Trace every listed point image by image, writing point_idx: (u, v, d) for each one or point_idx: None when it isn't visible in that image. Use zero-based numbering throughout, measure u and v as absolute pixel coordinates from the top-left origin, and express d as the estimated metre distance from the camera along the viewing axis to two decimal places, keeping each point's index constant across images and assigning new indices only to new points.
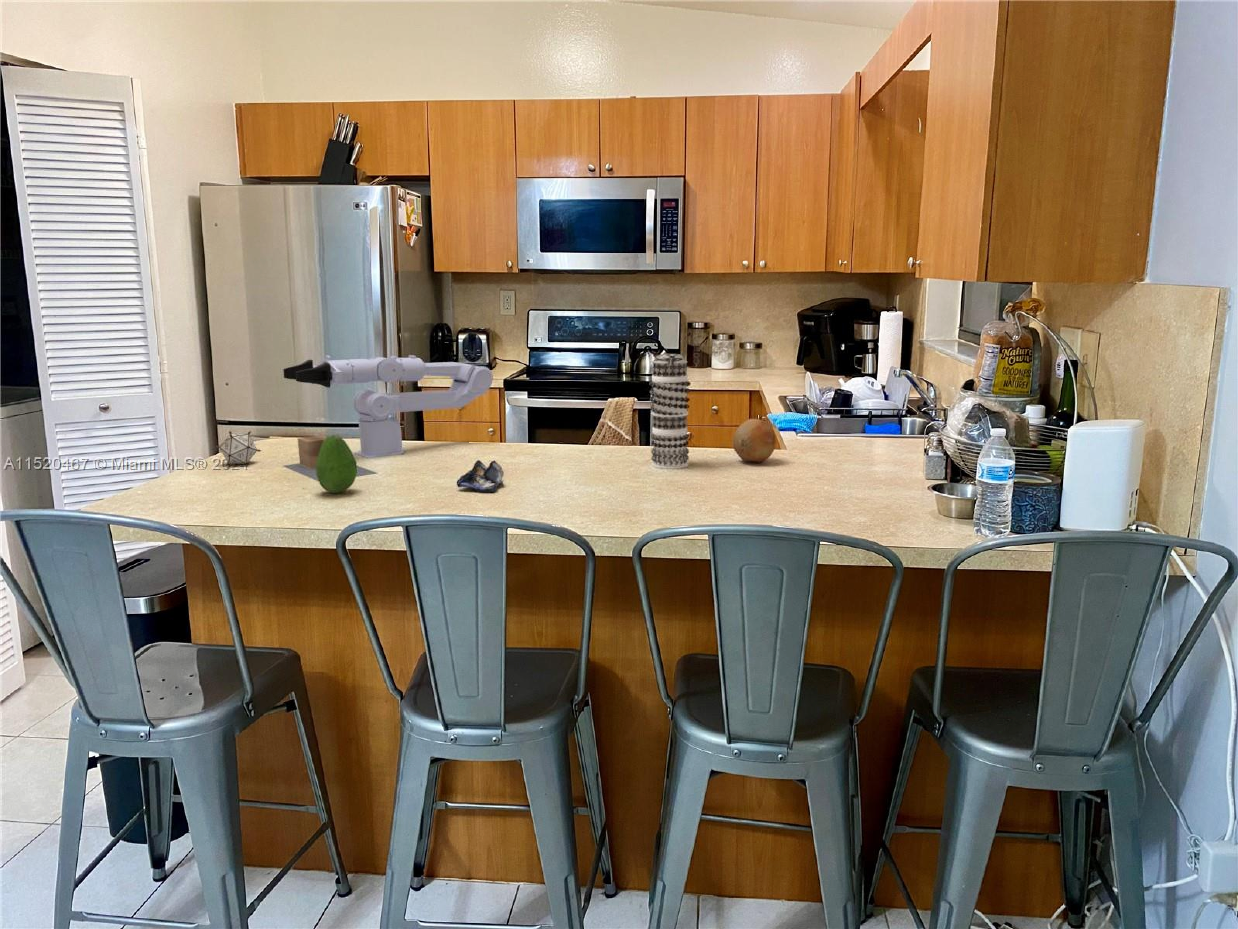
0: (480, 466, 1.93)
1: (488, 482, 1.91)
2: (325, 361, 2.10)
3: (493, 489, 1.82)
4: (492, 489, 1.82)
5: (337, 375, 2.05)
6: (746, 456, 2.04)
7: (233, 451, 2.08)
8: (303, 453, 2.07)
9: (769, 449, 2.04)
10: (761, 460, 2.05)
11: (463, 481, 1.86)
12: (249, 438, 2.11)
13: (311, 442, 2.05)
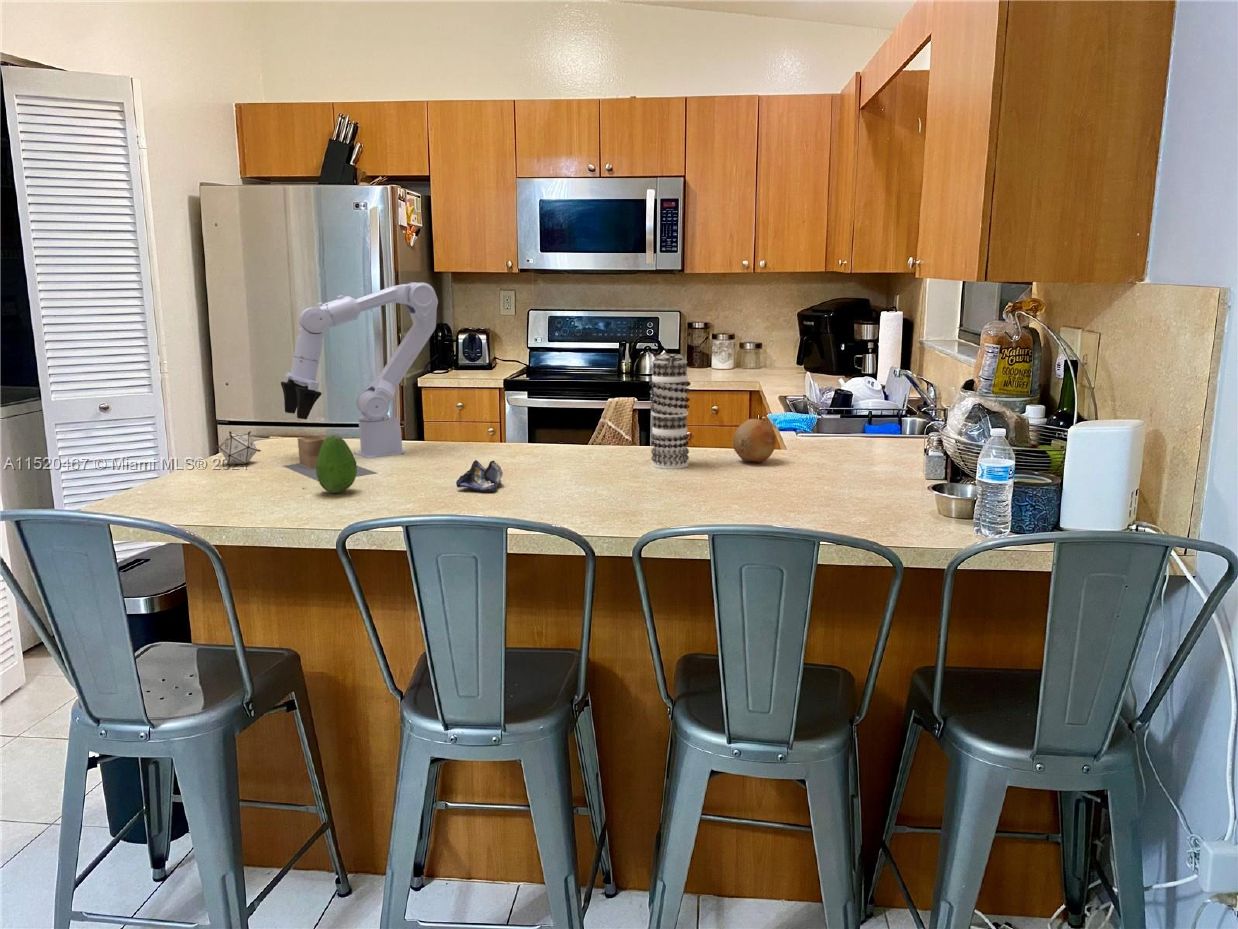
0: (478, 466, 1.92)
1: (486, 482, 1.91)
2: (291, 378, 2.10)
3: (494, 489, 1.82)
4: (493, 489, 1.82)
5: (314, 386, 2.06)
6: (746, 456, 2.04)
7: (233, 451, 2.08)
8: (303, 453, 2.07)
9: (769, 449, 2.04)
10: (761, 460, 2.05)
11: (462, 481, 1.86)
12: (249, 438, 2.11)
13: (311, 442, 2.05)
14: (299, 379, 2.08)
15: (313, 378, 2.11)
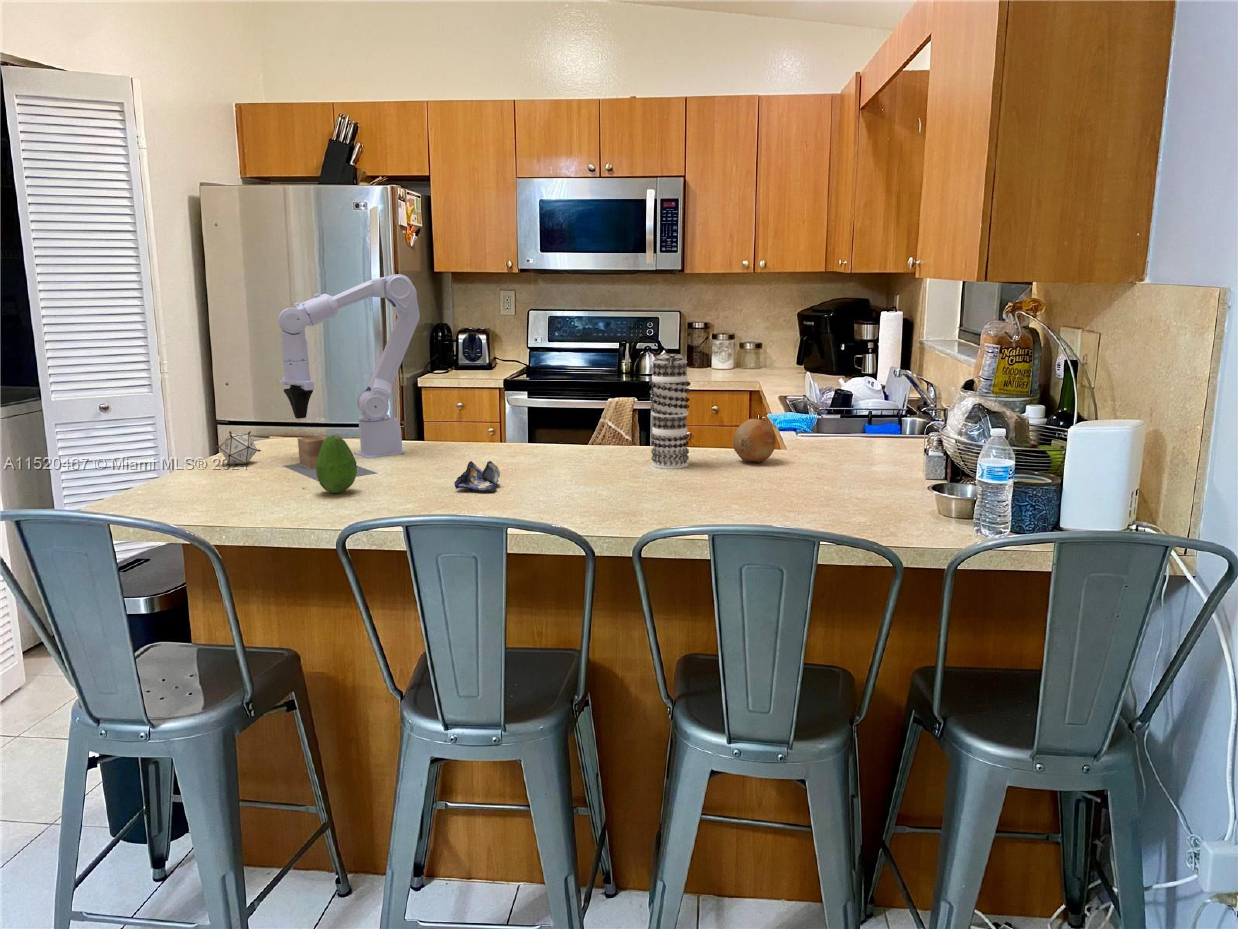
0: (473, 467, 1.92)
1: (482, 483, 1.91)
2: None
3: (493, 489, 1.82)
4: (492, 489, 1.82)
5: (309, 386, 2.06)
6: (746, 456, 2.04)
7: (233, 451, 2.08)
8: (303, 453, 2.07)
9: (769, 449, 2.04)
10: (761, 460, 2.05)
11: (460, 482, 1.86)
12: (249, 438, 2.11)
13: (311, 442, 2.05)
14: (294, 382, 2.08)
15: (307, 377, 2.11)
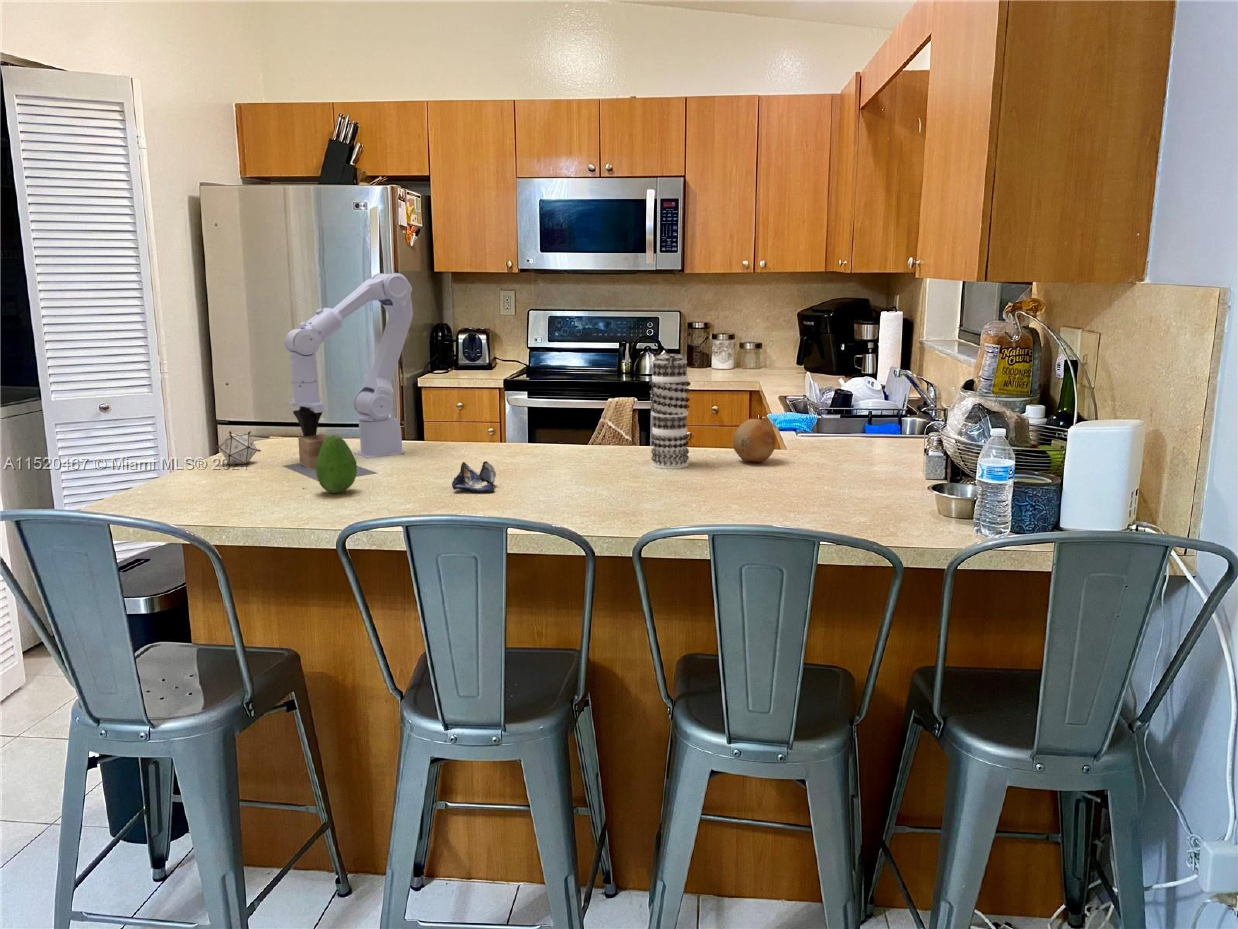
0: (466, 468, 1.91)
1: (477, 483, 1.90)
2: None
3: (492, 489, 1.82)
4: (491, 489, 1.82)
5: (319, 408, 2.04)
6: (746, 456, 2.04)
7: (233, 451, 2.08)
8: (304, 452, 2.07)
9: (769, 449, 2.04)
10: (761, 460, 2.05)
11: (457, 483, 1.85)
12: (249, 438, 2.11)
13: (312, 443, 2.05)
14: (303, 404, 2.05)
15: (317, 399, 2.08)
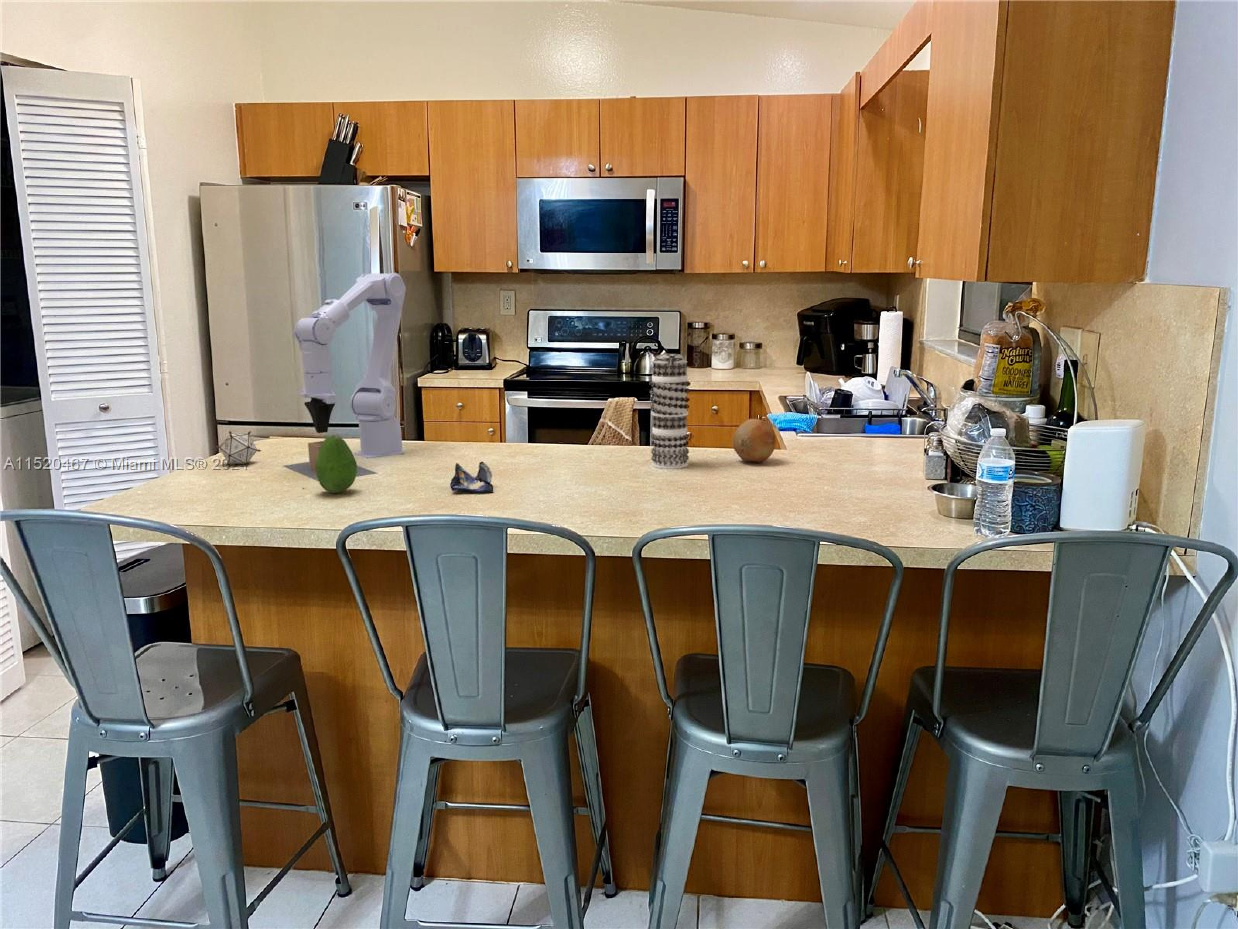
0: (460, 469, 1.91)
1: (471, 484, 1.90)
2: None
3: (492, 489, 1.82)
4: (491, 489, 1.82)
5: (331, 399, 1.98)
6: (746, 456, 2.04)
7: (233, 451, 2.08)
8: (314, 457, 2.03)
9: (769, 449, 2.04)
10: (761, 460, 2.05)
11: (454, 484, 1.84)
12: (249, 438, 2.11)
13: None
14: (315, 395, 1.99)
15: (329, 390, 2.02)
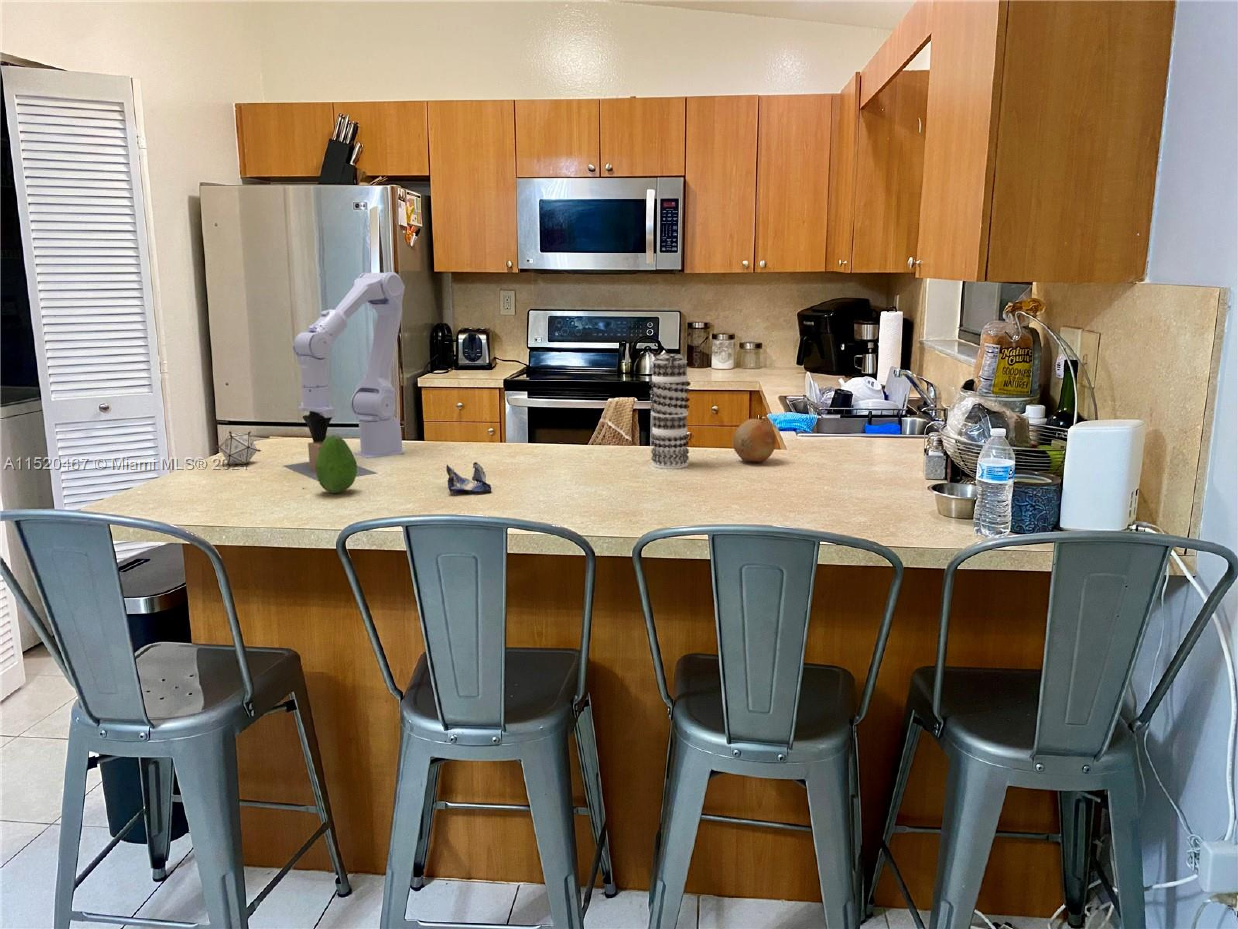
0: (450, 470, 1.89)
1: (463, 485, 1.89)
2: (305, 410, 2.03)
3: (490, 489, 1.82)
4: (489, 489, 1.82)
5: (329, 413, 2.00)
6: (746, 456, 2.04)
7: (233, 451, 2.08)
8: (314, 457, 2.03)
9: (769, 449, 2.04)
10: (761, 460, 2.05)
11: (450, 486, 1.83)
12: (249, 438, 2.11)
13: None
14: (313, 409, 2.01)
15: (327, 404, 2.04)
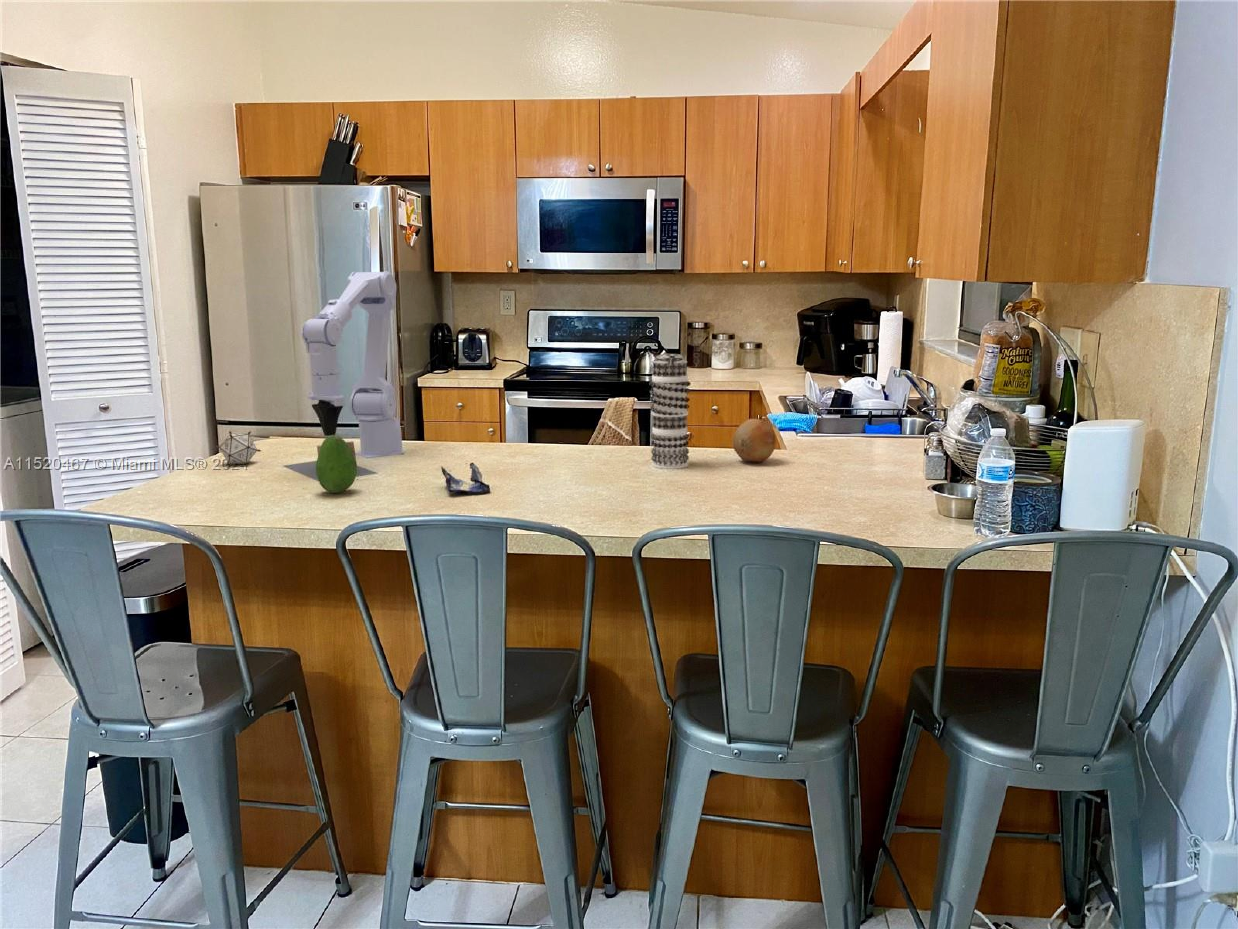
0: (445, 471, 1.88)
1: (459, 486, 1.88)
2: None
3: (489, 489, 1.82)
4: (488, 489, 1.82)
5: (340, 401, 1.94)
6: (746, 456, 2.04)
7: (233, 451, 2.08)
8: None
9: (769, 449, 2.04)
10: (761, 460, 2.05)
11: (449, 487, 1.82)
12: (249, 438, 2.11)
13: None
14: (323, 398, 1.96)
15: (337, 392, 1.99)
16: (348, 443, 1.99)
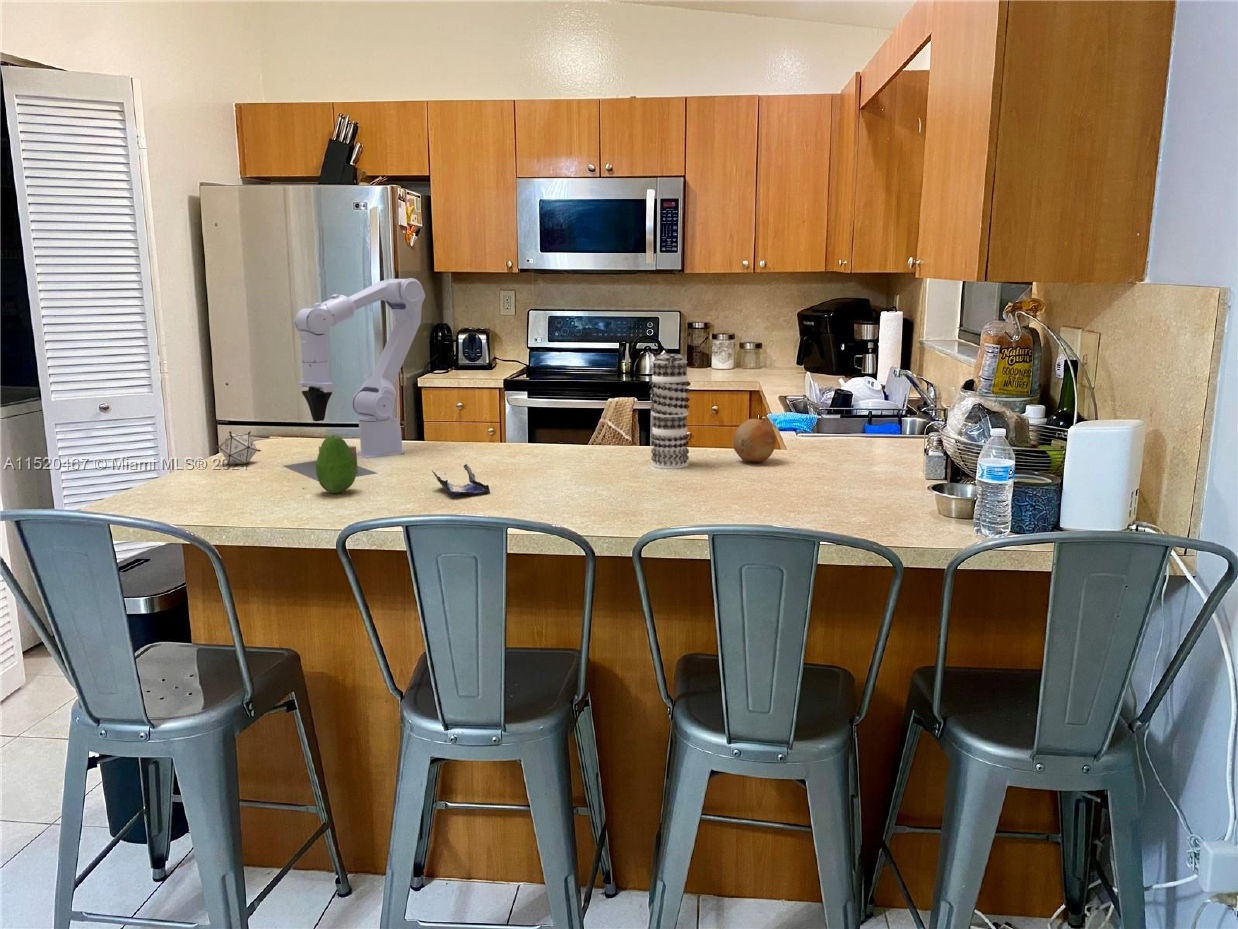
0: (436, 475, 1.85)
1: (451, 489, 1.86)
2: (304, 385, 2.06)
3: (489, 490, 1.82)
4: (489, 490, 1.82)
5: (329, 388, 2.02)
6: (746, 456, 2.04)
7: (233, 451, 2.08)
8: None
9: (769, 449, 2.04)
10: (761, 460, 2.05)
11: (449, 490, 1.79)
12: (249, 438, 2.11)
13: None
14: (313, 384, 2.04)
15: (326, 379, 2.07)
16: (350, 448, 1.98)
